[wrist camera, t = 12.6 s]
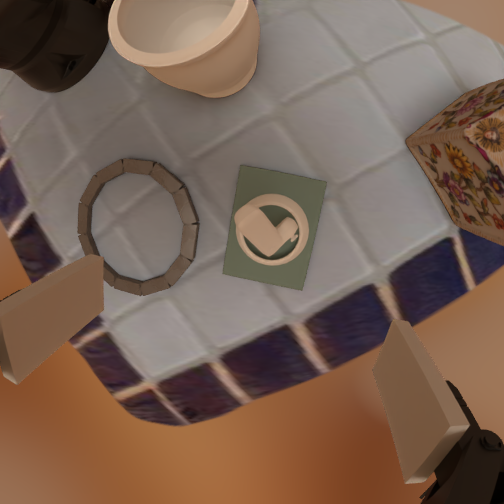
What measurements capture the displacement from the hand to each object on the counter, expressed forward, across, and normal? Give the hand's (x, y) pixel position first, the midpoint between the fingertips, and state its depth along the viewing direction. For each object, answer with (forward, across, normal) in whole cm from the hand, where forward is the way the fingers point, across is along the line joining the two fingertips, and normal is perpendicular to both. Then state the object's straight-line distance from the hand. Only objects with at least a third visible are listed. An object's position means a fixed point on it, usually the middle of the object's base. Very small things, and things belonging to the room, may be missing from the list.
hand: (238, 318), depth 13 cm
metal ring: (+22, -16, -3) cm, 27 cm away
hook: (+21, 0, 0) cm, 21 cm away
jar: (+22, -9, +17) cm, 29 cm away
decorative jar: (+22, +20, +13) cm, 32 cm away
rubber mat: (+22, 0, 0) cm, 22 cm away
